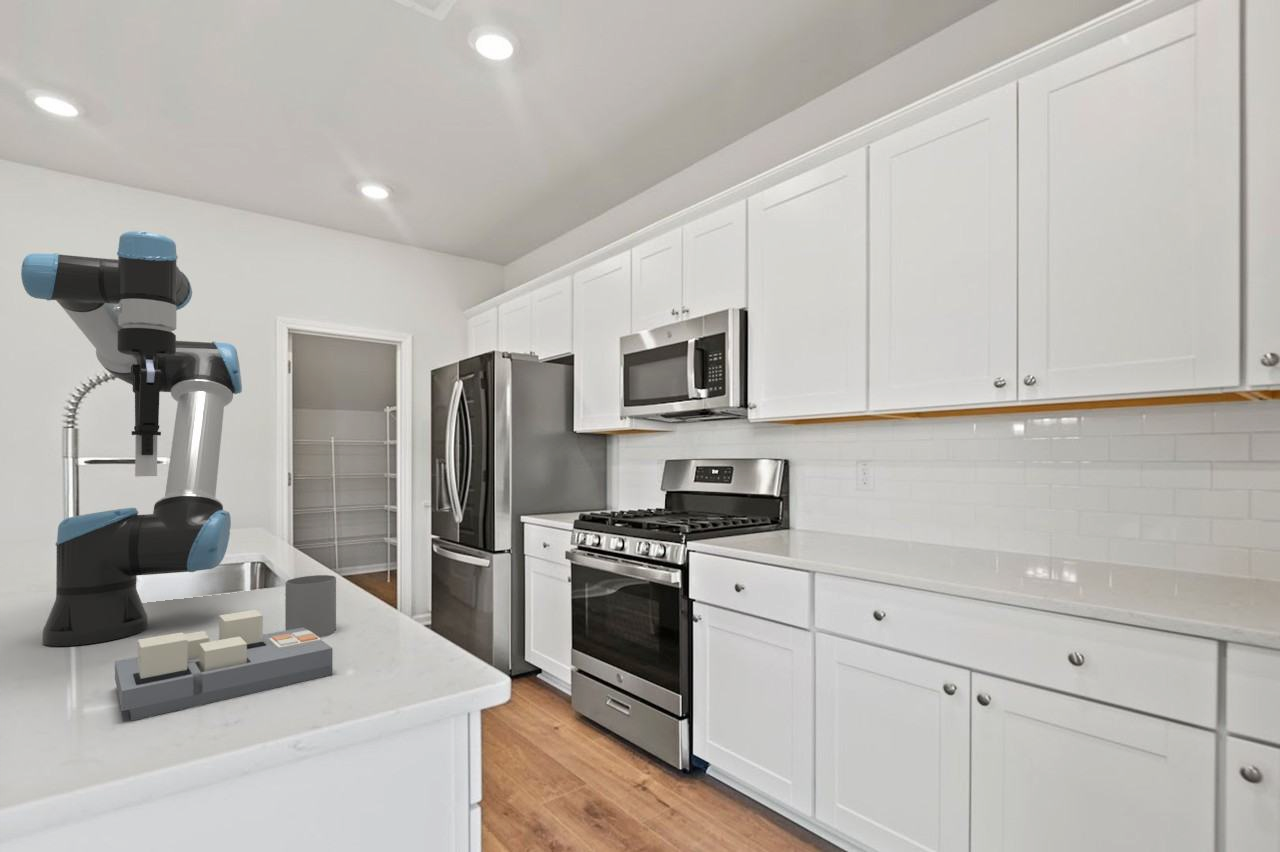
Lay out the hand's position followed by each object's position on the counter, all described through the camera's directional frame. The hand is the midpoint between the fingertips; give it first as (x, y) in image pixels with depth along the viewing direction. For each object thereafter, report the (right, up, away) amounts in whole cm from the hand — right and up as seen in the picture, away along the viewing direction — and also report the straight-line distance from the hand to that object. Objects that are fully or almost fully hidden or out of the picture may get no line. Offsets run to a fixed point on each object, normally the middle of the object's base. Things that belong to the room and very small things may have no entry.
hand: (146, 476), depth 104 cm
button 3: (+20, -27, -12) cm, 36 cm away
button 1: (+14, -25, -16) cm, 33 cm away
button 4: (+17, -25, -4) cm, 31 cm away
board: (+18, -30, -8) cm, 36 cm away
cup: (+18, -31, +17) cm, 40 cm away
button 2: (+12, -27, -8) cm, 31 cm away
